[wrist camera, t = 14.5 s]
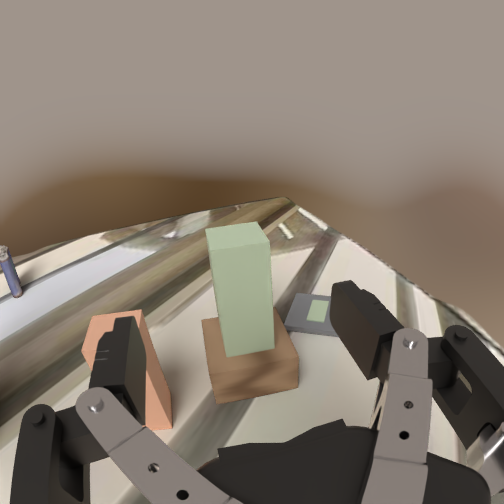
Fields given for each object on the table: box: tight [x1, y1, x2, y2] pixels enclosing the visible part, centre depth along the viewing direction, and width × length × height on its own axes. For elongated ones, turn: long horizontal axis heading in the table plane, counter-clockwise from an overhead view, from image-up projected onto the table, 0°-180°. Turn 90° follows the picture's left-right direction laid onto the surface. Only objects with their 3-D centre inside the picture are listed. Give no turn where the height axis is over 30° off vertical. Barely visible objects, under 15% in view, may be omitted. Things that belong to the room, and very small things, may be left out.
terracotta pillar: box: [82, 310, 172, 430], centre depth 28 cm, size 5×5×12 cm
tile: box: [284, 293, 339, 337], centre depth 44 cm, size 8×8×1 cm
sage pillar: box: [205, 222, 275, 357], centre depth 31 cm, size 5×5×12 cm
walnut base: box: [202, 307, 299, 404], centre depth 35 cm, size 9×9×5 cm
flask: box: [0, 245, 23, 298], centre depth 53 cm, size 9×3×11 cm, turn 44°
